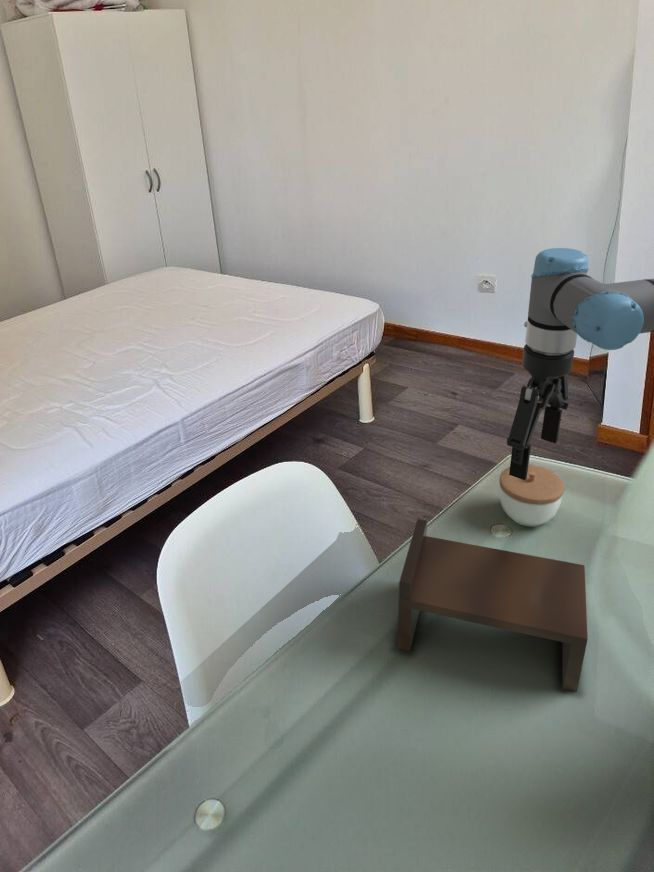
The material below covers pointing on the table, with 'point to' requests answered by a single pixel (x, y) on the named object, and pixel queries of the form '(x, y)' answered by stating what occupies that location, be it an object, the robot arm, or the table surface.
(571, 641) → the shelf
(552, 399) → the robot arm
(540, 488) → the trinket box
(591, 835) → the table surface
